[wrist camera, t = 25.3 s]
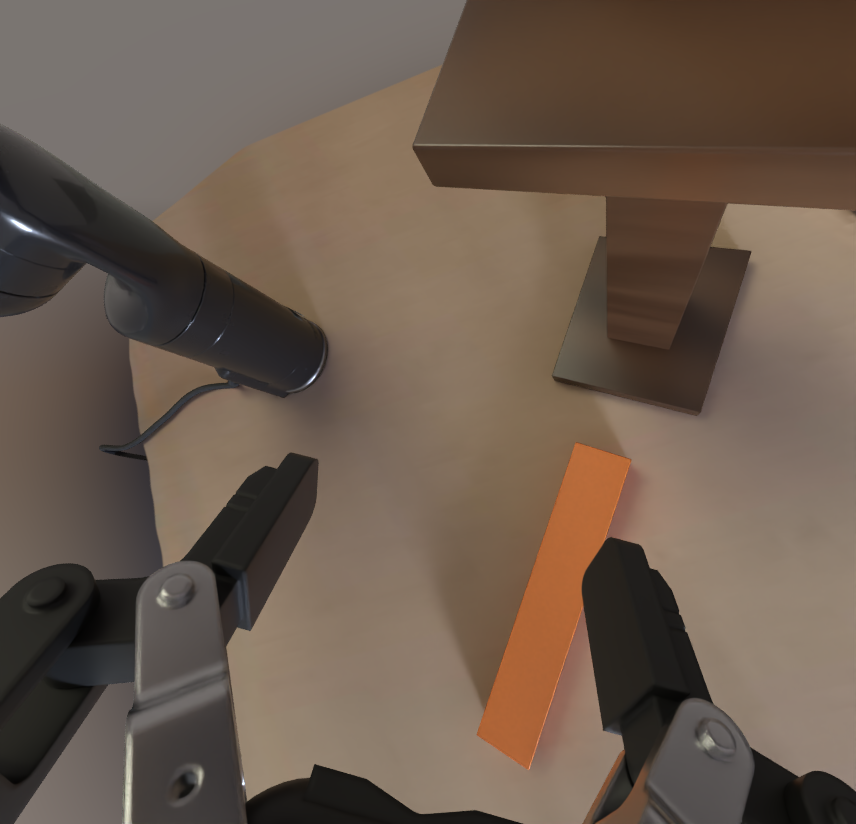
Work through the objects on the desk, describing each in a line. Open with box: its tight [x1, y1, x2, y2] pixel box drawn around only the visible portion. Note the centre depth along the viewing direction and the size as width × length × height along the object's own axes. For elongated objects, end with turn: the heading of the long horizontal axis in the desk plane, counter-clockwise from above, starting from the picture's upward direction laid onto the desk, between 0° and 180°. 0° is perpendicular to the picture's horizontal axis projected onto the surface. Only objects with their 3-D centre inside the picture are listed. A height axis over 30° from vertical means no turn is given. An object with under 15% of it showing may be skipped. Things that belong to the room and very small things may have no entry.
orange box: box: [477, 442, 631, 770], centre depth 35 cm, size 25×4×3 cm, turn 158°
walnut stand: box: [413, 0, 856, 416], centre depth 23 cm, size 19×12×32 cm, turn 159°
